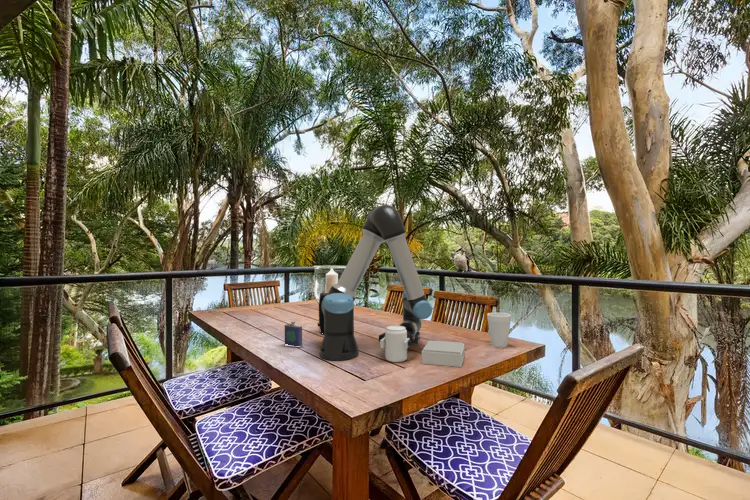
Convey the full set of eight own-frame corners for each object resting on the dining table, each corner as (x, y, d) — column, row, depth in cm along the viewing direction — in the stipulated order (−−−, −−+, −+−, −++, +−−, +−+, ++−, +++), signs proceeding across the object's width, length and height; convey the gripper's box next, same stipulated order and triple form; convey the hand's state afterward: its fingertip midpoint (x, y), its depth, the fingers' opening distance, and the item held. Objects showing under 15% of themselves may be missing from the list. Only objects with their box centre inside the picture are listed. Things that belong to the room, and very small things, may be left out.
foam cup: (486, 347, 153) (486, 315, 153) (488, 341, 162) (488, 312, 162) (510, 349, 150) (510, 317, 149) (511, 343, 158) (511, 313, 158)
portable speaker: (334, 335, 175) (333, 294, 175) (316, 334, 178) (315, 294, 177) (340, 331, 184) (339, 292, 183) (322, 330, 186) (322, 291, 186)
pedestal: (421, 363, 133) (421, 349, 133) (428, 352, 147) (428, 340, 147) (461, 367, 129) (461, 352, 129) (464, 355, 143) (464, 342, 142)
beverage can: (405, 363, 134) (405, 330, 133) (383, 362, 135) (383, 329, 135) (408, 356, 141) (408, 325, 141) (387, 355, 143) (387, 324, 143)
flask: (303, 346, 157) (303, 321, 157) (299, 348, 155) (298, 323, 154) (287, 344, 162) (286, 319, 162) (282, 346, 159) (282, 321, 159)
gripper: (431, 341, 152) (421, 358, 131) (382, 338, 159) (365, 353, 137) (431, 323, 152) (421, 336, 130) (382, 320, 158) (365, 333, 137)
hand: (392, 345), depth 134 cm, fingers closed on beverage can, 8 cm apart
